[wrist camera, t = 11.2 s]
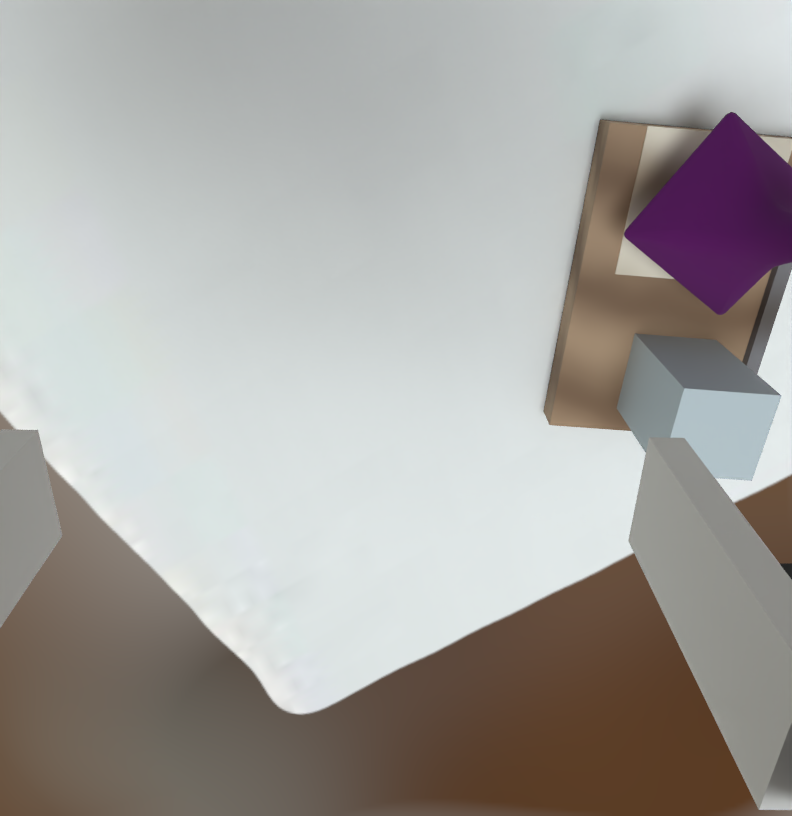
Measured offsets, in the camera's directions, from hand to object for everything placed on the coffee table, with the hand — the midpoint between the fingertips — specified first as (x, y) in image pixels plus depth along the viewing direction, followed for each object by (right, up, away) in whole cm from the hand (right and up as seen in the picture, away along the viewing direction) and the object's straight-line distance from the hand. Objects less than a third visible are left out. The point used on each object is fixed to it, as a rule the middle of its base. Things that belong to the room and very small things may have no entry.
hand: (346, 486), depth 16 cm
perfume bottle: (+18, +13, +24) cm, 33 cm away
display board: (+17, +9, +28) cm, 34 cm away
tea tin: (+18, +4, +29) cm, 34 cm away
